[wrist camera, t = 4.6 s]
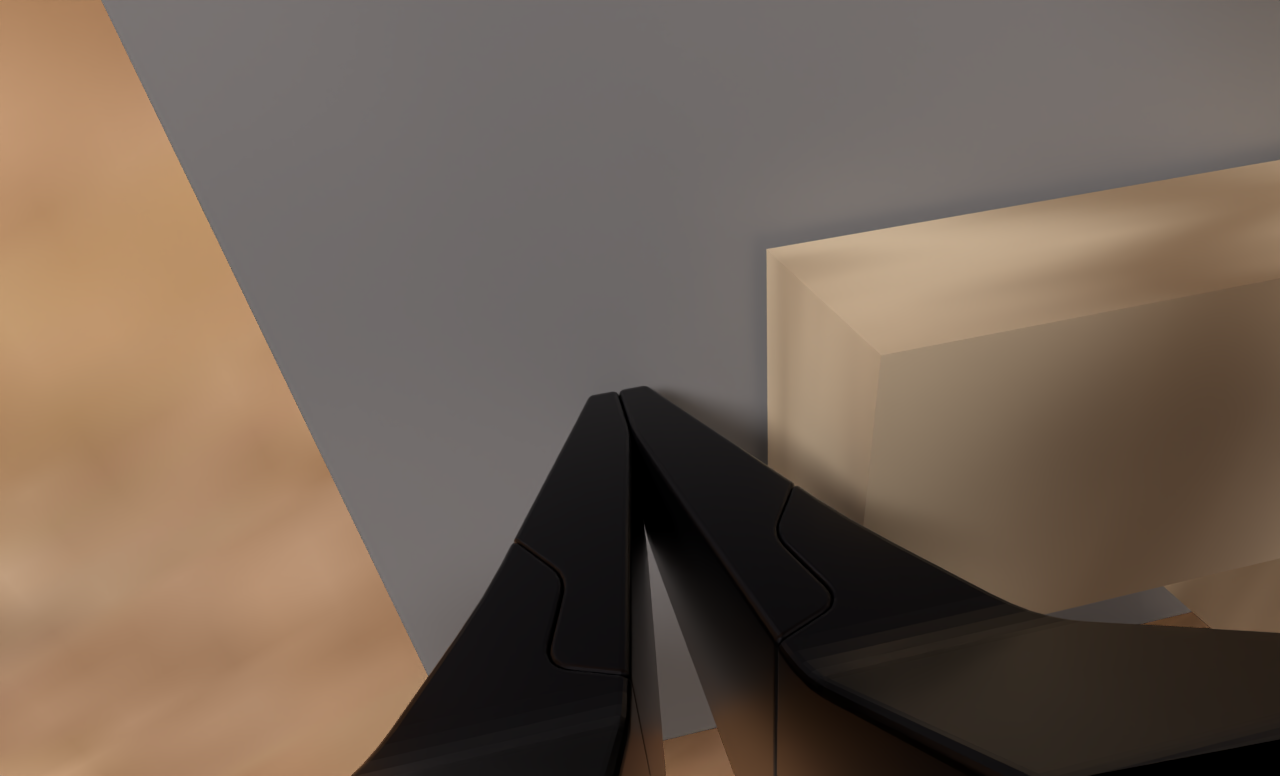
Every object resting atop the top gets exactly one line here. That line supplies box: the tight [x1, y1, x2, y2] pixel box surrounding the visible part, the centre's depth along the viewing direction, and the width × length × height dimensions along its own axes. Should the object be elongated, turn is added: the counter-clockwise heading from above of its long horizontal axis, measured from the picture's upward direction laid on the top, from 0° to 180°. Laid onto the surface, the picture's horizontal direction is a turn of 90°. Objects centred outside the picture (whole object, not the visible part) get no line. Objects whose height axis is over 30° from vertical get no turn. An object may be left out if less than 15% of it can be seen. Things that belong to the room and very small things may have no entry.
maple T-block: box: [766, 160, 1280, 633], centre depth 9 cm, size 13×13×3 cm
